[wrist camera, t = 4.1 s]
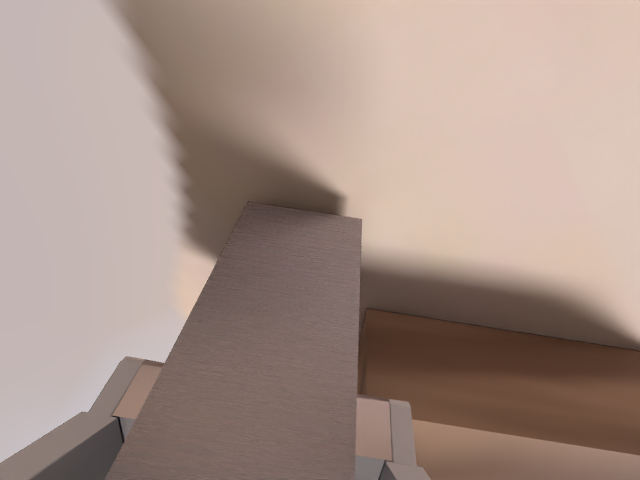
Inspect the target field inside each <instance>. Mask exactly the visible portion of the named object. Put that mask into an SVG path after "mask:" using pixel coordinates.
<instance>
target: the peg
mask: <svg viewBox="0 0 640 480" xmlns="http://www.w3.org/2000/svg"><path fill="white" fill-rule="evenodd" d="M361 235H362V219H358V218H351V217H345V216H338V215H332V214H325V213H319V212H312V211H306V210H299V209H293V208H286V207H280V206H273V205H267V204H260V203H254V202H248V203H247V205H246V207H245V208H244V210H243V212H242V214H241V216H240V218H239V220H238V222H237V224H236V226H235V228H234V230H233V232H232V234H231V236H230V238H229V240H228V241H227V243H226V245H225V247H224V249H223V251H222V253H221V255H220V257H219V259H218V261H217V263H216V265H215V267H214V269H213V271H212V272H211V274H210V276H209V278H208V280H207V282H206V284H205V286H204V288H203V290H202V292H201V294H200V296H199V298H198V300H197V302H196V304H195V305H194V307H193V309H192V311H191V313H190V315H189V317H188V319H187V321H186V323H185V325H184V327H183V329H182V331H181V333H180V335H179V336H178V339H177V341H176V342H175V344H174V346H173V348H172V351H171V352H170V354H169V356H168V358H167V360H166V362H165V364H164V366H163V368H162V369H161V371H160V373H159V375H158V377H157V379H156V381H155V383H154V385H153V387H152V389H151V391H150V393H149V395H148V397H147V399H146V400H145V402H144V404H143V406H142V408H141V410H140V412H139V414H138V416H137V418H136V420H135V422H134V424H133V426H132V428H131V430H130V432H129V433H128V435H127V437H126V439H125V441H124V443H123V445H122V447H121V449H120V451H119V453H118V455H117V457H116V459H115V461H114V463H113V464H112V466H111V468H110V470H109V472H108V474H107V476H106V478H105V480H355V448H356V412H357V377H358V341H359V306H360V270H361Z"/></svg>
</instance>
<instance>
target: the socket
mask: <svg viewBox="0 0 640 480" xmlns="http://www.w3.org/2000/svg"><path fill="white" fill-rule="evenodd" d="M357 394H363V395H370V396H376V397H383V398H388V399H393V400H399V401H406V402H409V404H410V406H411V415H412V425H413V435H414V445H415V455H416V465H417V466H419V467H423V468H424V470H425V471H426V473H427V474H428V476H429V477H430V479H431V480H640V351H636V350H629V349H623V348H616V347H610V346H604V345H597V344H591V343H584V342H578V341H571V340H565V339H559V338H552V337H546V336H539V335H533V334H526V333H520V332H514V331H507V330H501V329H494V328H488V327H481V326H475V325H469V324H462V323H456V322H449V321H443V320H436V319H430V318H424V317H417V316H411V315H404V314H398V313H391V312H385V311H379V310H372V309H367V310H366V314H365V319H364V323H363V327H362V331H361V336H360V340H359V344H358V377H357Z"/></svg>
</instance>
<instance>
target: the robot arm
mask: <svg viewBox="0 0 640 480" xmlns="http://www.w3.org/2000/svg"><path fill="white" fill-rule="evenodd" d="M164 364H165V363H161V362H156V361H150V360H145V359H139V358H133V357H125V358H124V359H123V360H122V361H121V362H120V363H119V365H118V366H117V368H116V370H115V371H114V373H113V374H112V376H111V377H110V379H109V380H108V382H107V384H106V385H105V387H104V388H103V390H102V392H101V393H100V395H99V396H98V398H97V399H96V401H95V403H94V404H93V406H92V408H91V409H90V410H89V412H81V413H79V414H78V415H76V416H75V417H73V418H71V419H70V420H68V421H67V422H65V423H63V424H62V425H60V426H59V427H57V428H55V429H54V430H52V431H51V432H49V433H48V434H46V435H44V436H43V437H41V438H40V439H38V440H37V441H35V442H33V443H32V444H30V445H29V446H27V447H25V448H24V449H22V450H21V451H19V452H18V453H16V454H14V455H13V456H11V457H9V458H8V459H6V460H5V461H3V462H1V463H0V480H105V478H106V476H107V474H108V472H109V470H110V468H111V466H112V464H113V463H114V461H115V459H116V457H117V455H118V453H119V451H120V449H121V447H122V445H123V443H124V441H125V439H126V437H127V435H128V433H129V432H130V430H131V428H132V426H133V424H134V422H135V420H136V418H137V416H138V414H139V412H140V410H141V408H142V406H143V404H144V402H145V400H146V399H147V397H148V395H149V393H150V391H151V389H152V387H153V385H154V383H155V381H156V379H157V377H158V375H159V373H160V371H161V369H162V368H163V366H164ZM355 480H431V479H430V477H429V476H428V474H427V473H426V471H425V470H424V468H423V467H419V466H417V465H416V455H415V445H414V435H413V425H412V415H411V406H410V404H409V402H406V401H399V400H393V399H388V398H383V397H376V396H370V395H363V394H357V412H356V448H355Z"/></svg>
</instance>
